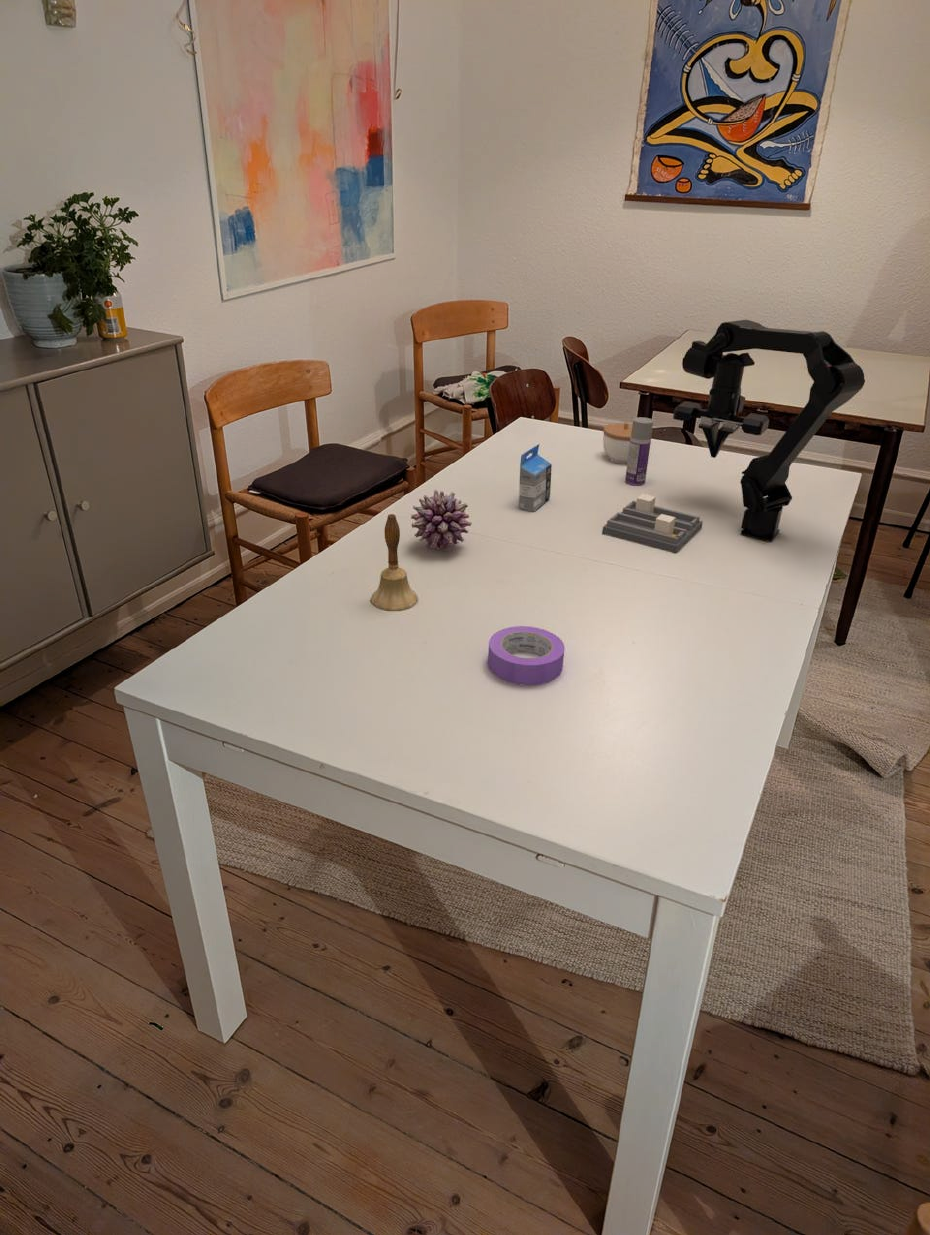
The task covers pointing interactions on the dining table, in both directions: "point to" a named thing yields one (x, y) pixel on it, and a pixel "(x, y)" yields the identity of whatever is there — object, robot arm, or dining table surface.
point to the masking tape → (525, 668)
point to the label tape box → (534, 480)
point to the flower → (440, 520)
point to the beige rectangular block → (645, 503)
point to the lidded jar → (617, 441)
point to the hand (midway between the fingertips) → (713, 457)
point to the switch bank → (652, 527)
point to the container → (639, 451)
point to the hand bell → (393, 576)
